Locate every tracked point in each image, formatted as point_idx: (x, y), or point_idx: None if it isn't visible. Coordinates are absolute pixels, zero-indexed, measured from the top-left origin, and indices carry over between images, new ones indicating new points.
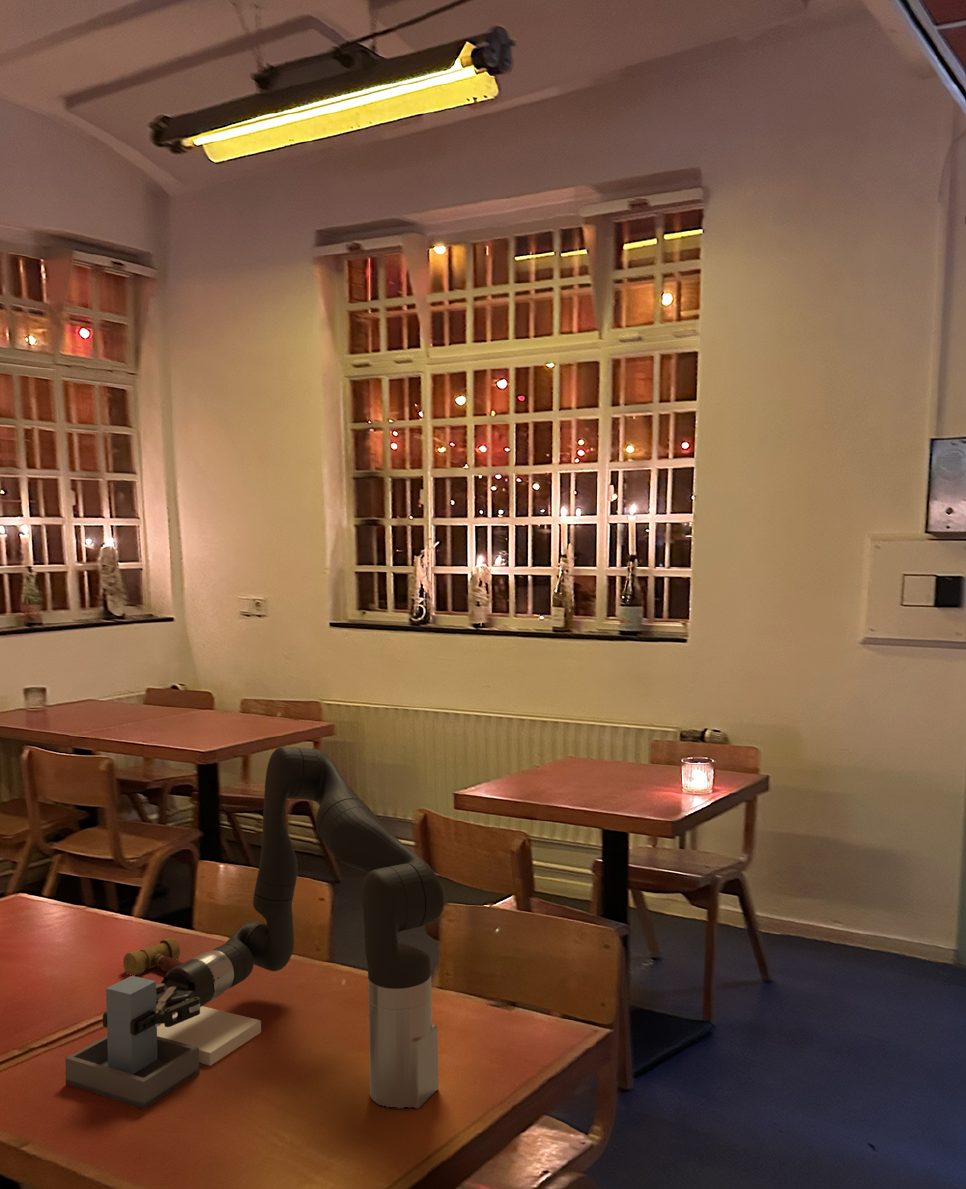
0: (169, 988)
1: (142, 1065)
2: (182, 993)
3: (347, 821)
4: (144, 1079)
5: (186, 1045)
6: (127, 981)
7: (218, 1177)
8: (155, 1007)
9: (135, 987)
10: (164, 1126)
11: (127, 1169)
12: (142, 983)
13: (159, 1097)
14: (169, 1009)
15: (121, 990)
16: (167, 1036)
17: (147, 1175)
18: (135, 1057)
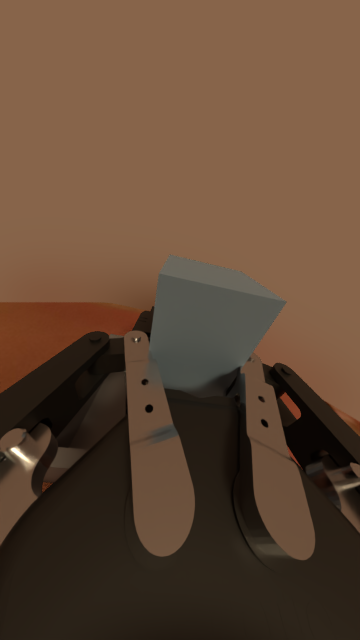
0: (179, 472)
1: None
2: (74, 553)
3: None
4: (112, 337)
5: (66, 460)
6: (243, 281)
7: (4, 303)
8: (145, 344)
9: (188, 264)
10: (76, 340)
11: (91, 307)
12: (191, 272)
13: None
14: (90, 335)
15: (203, 263)
16: None
17: (72, 304)
18: None
